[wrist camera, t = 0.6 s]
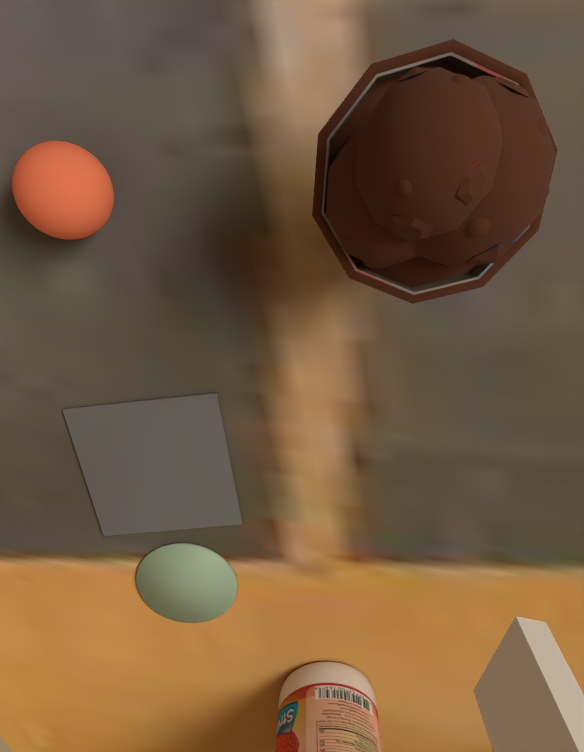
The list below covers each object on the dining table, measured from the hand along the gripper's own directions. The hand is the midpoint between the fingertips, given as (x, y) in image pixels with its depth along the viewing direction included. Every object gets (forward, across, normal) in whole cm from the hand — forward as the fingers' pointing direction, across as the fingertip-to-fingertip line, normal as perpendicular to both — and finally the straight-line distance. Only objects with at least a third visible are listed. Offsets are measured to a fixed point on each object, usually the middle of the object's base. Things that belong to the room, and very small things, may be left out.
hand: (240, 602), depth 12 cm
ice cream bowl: (+25, +5, +10) cm, 28 cm away
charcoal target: (+24, -7, -14) cm, 29 cm away
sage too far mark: (+24, -3, -26) cm, 36 cm away
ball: (+22, -14, +5) cm, 27 cm away
